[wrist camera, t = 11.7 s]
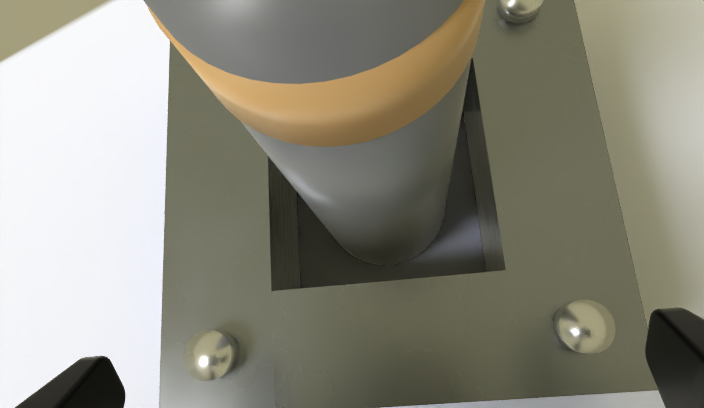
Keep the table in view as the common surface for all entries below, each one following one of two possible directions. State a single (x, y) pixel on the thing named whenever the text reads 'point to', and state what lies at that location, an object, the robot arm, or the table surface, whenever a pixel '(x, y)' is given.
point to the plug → (343, 102)
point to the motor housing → (419, 293)
